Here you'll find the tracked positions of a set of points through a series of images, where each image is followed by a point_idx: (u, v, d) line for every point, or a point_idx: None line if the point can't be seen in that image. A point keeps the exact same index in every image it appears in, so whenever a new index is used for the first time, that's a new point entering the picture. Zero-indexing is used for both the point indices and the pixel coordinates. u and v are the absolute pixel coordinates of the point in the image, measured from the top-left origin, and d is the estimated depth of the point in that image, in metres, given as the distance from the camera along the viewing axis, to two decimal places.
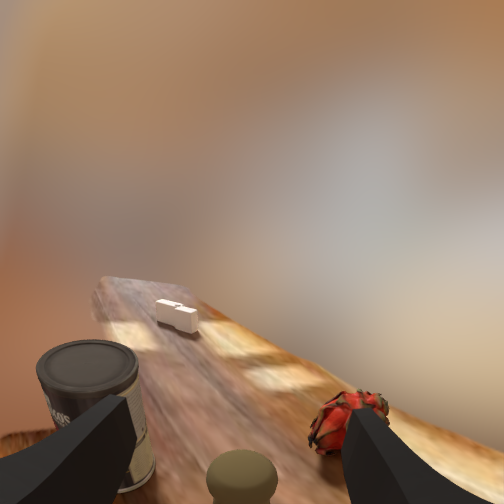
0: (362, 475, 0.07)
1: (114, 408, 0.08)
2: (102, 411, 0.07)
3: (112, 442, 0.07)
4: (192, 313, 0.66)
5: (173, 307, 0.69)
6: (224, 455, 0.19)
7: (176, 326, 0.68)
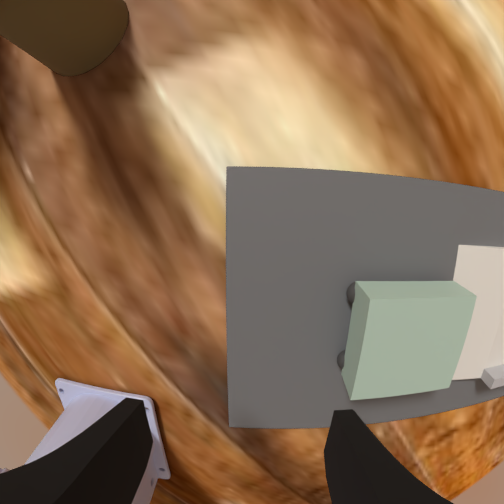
0: (341, 477, 0.07)
1: (132, 412, 0.08)
2: (120, 415, 0.07)
3: (130, 446, 0.07)
4: None
5: None
6: None
7: None
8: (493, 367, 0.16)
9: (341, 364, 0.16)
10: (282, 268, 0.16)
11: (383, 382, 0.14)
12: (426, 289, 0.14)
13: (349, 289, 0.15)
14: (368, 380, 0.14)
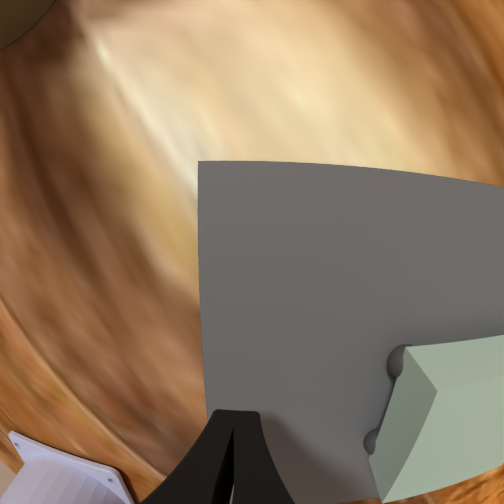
0: None
1: (233, 424, 0.08)
2: (222, 429, 0.07)
3: (231, 460, 0.07)
4: None
5: None
6: None
7: None
8: None
9: (370, 450, 0.10)
10: (291, 328, 0.10)
11: (429, 479, 0.07)
12: (502, 354, 0.07)
13: (395, 358, 0.09)
14: (410, 482, 0.07)
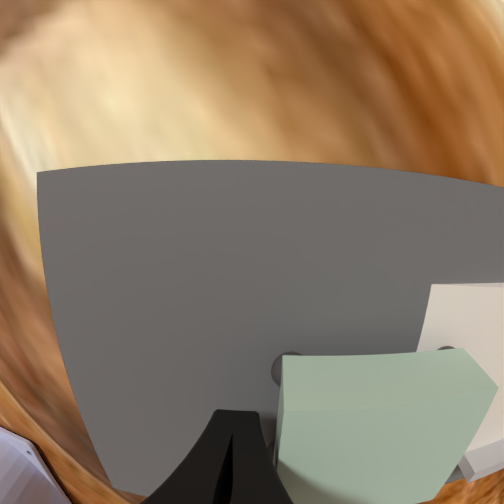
0: None
1: (234, 424, 0.08)
2: (223, 429, 0.07)
3: (231, 460, 0.07)
4: None
5: None
6: None
7: None
8: (478, 448, 0.10)
9: None
10: (115, 320, 0.10)
11: None
12: (410, 377, 0.07)
13: (274, 366, 0.09)
14: (295, 503, 0.07)
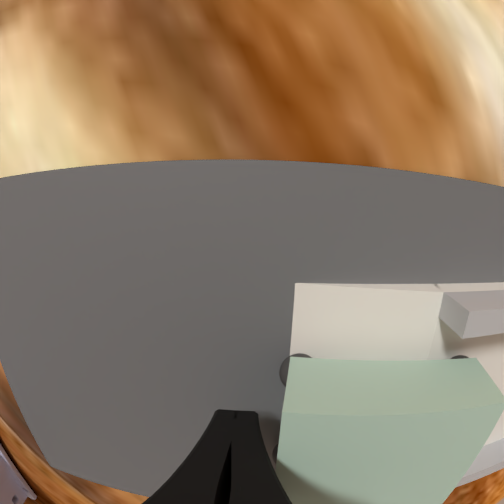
0: None
1: (235, 424, 0.08)
2: (224, 429, 0.07)
3: None
4: None
5: None
6: None
7: None
8: None
9: (275, 461, 0.10)
10: (21, 306, 0.10)
11: None
12: (416, 386, 0.07)
13: (282, 367, 0.09)
14: None
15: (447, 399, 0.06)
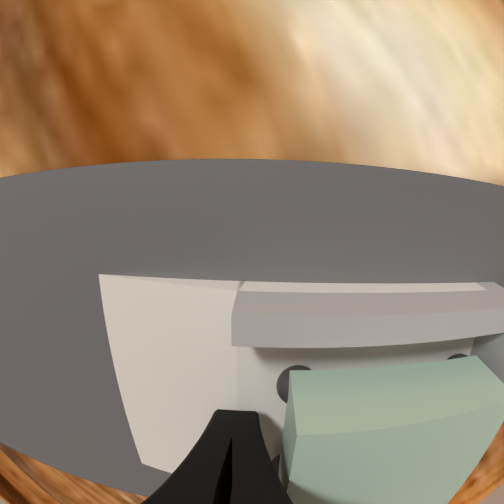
0: None
1: (234, 424, 0.08)
2: (223, 429, 0.07)
3: (232, 460, 0.07)
4: None
5: None
6: None
7: None
8: None
9: None
10: None
11: None
12: (426, 390, 0.06)
13: (280, 382, 0.08)
14: None
15: (459, 401, 0.06)
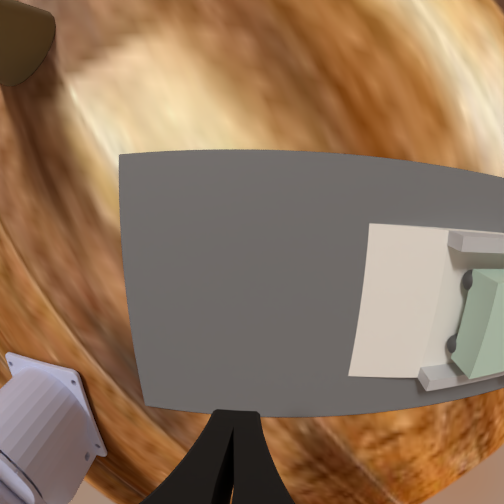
0: None
1: (233, 424, 0.08)
2: (222, 429, 0.07)
3: (230, 460, 0.07)
4: None
5: None
6: None
7: None
8: (433, 366, 0.16)
9: (453, 348, 0.15)
10: (170, 247, 0.16)
11: (494, 359, 0.13)
12: None
13: (467, 277, 0.14)
14: (485, 358, 0.13)
15: None
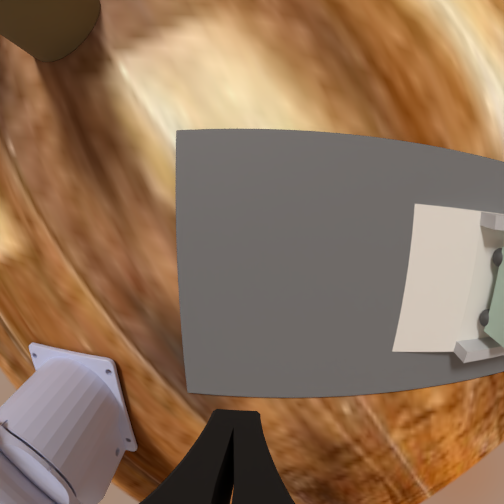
0: None
1: (233, 424, 0.08)
2: (222, 429, 0.07)
3: (230, 460, 0.07)
4: None
5: None
6: None
7: None
8: (467, 340, 0.17)
9: (486, 321, 0.15)
10: (228, 224, 0.16)
11: None
12: None
13: (497, 254, 0.15)
14: None
15: None
